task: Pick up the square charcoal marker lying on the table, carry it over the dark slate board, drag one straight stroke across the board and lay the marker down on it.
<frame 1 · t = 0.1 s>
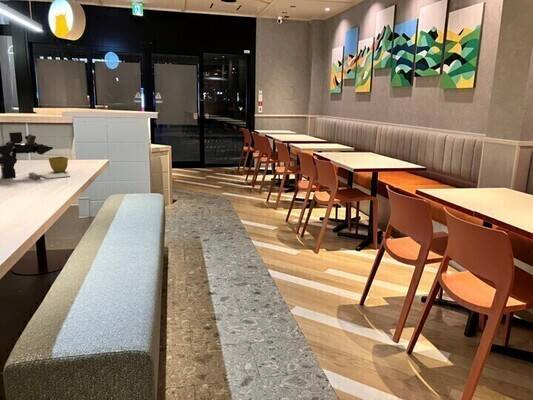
hand: (50, 147, 276), 17 cm above the table, tool horizontal, fingers open, 9 cm apart
marker: (35, 178, 261), on the table
flower pot: (59, 171, 286), on the table
slate board: (54, 176, 268), on the table
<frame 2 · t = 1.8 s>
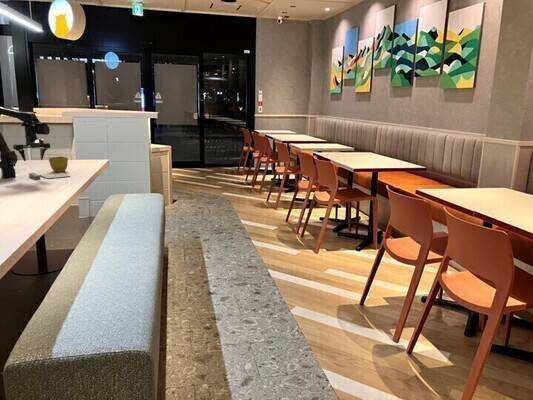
hand: (33, 160, 259), 11 cm above the table, tool pointing down, fingers open, 9 cm apart
nothing on the table moved.
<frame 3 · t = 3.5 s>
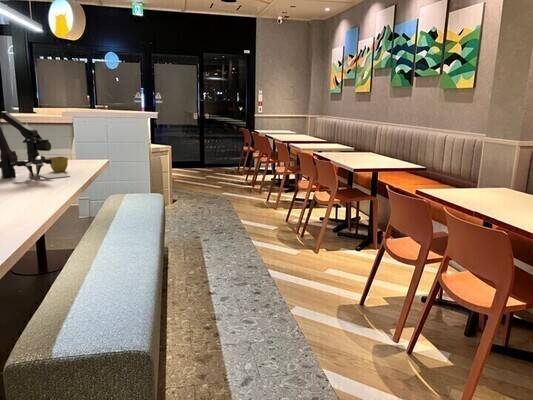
hand: (35, 176, 261), 1 cm above the table, tool pointing down, fingers closed on marker, 2 cm apart
marker: (35, 178, 261), on the table, touching gripper
everything else where it was.
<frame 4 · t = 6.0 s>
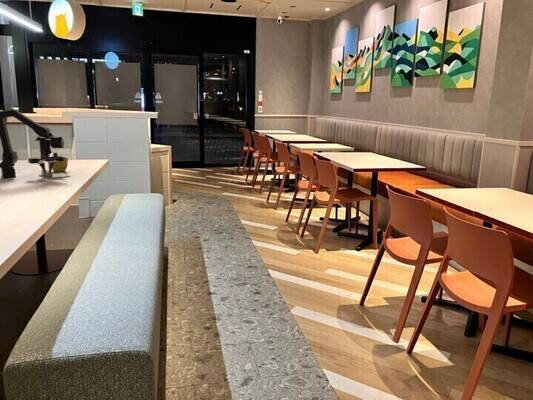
hand: (47, 173, 265), 2 cm above the table, tool pointing down, fingers closed on marker, 2 cm apart
marker: (47, 175, 266), point 1 cm above the table, touching gripper
everything else where it was.
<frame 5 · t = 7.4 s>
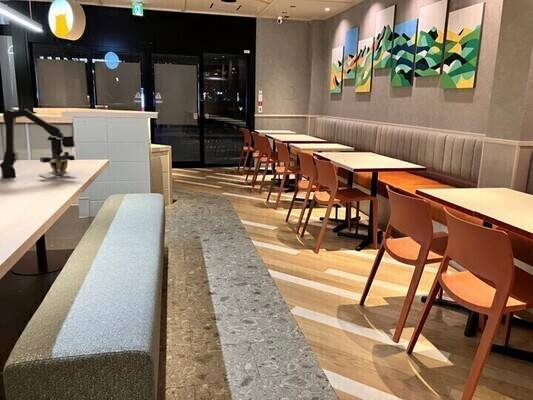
hand: (58, 172, 270), 2 cm above the table, tool pointing down, fingers closed on marker, 2 cm apart
marker: (59, 174, 270), point 1 cm above the table, touching gripper
everything else where it was.
when the fingers open (2 cm above the table, at t = 8.4 s): marker stays where it is, resting on slate board.
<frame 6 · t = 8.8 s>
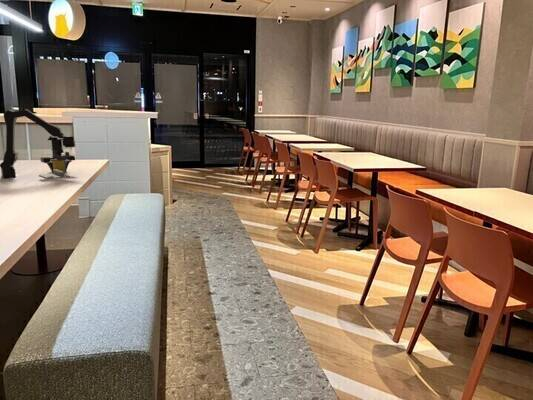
hand: (59, 172, 270), 2 cm above the table, tool pointing down, fingers open, 7 cm apart
marker: (59, 174, 270), point 1 cm above the table, touching slate board
everything else where it was.
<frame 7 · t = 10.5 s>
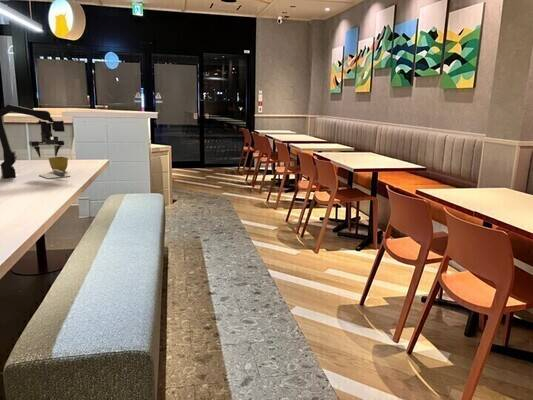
hand: (47, 157, 268), 11 cm above the table, tool pointing down, fingers open, 9 cm apart
nothing on the table moved.
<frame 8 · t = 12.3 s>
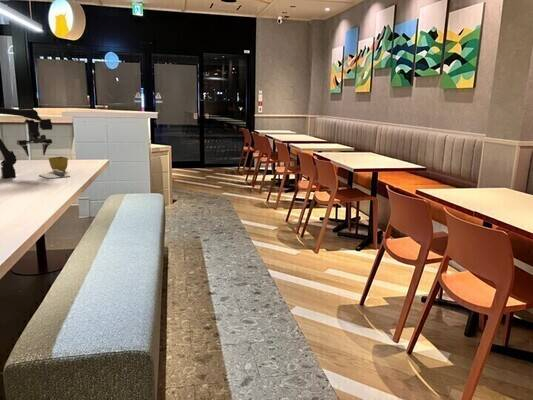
hand: (36, 155, 269), 12 cm above the table, tool pointing down, fingers open, 9 cm apart
nothing on the table moved.
at the end: marker inside the target area on the slate board (3.0 cm from its centre), point 0.6 cm above the slate board's base; the gripper is holding nothing; marker moved 14.0 cm from its start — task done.
